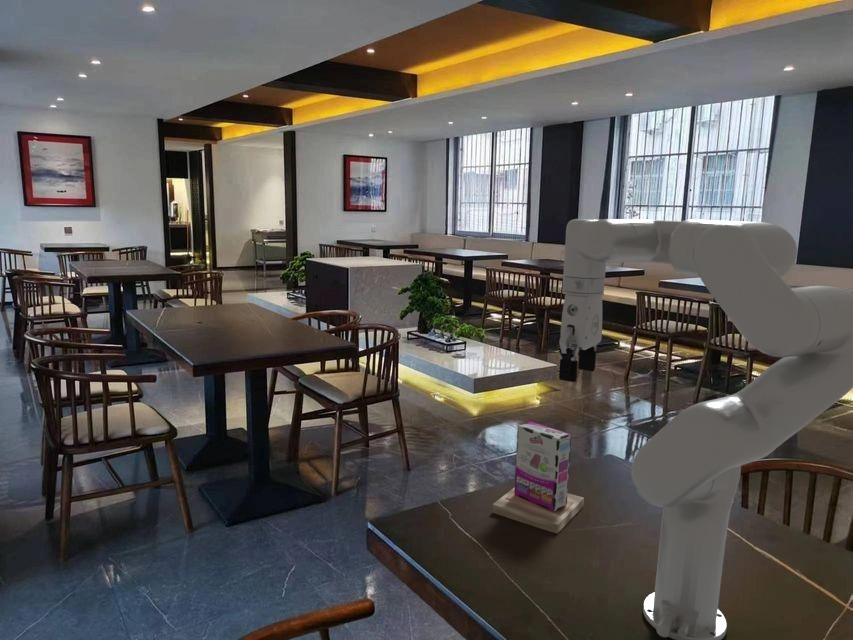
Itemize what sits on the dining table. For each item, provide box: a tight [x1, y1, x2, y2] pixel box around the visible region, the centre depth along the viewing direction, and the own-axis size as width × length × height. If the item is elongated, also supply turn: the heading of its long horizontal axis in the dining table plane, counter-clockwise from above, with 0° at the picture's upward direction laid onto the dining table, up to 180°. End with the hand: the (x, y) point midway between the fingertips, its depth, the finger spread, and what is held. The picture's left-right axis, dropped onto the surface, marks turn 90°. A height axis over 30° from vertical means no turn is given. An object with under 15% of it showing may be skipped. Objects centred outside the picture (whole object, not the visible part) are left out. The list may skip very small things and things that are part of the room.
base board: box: [492, 486, 585, 535], centre depth 139 cm, size 15×15×2 cm
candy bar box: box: [514, 421, 572, 512], centre depth 137 cm, size 11×5×16 cm, turn 43°
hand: (577, 375), depth 120 cm, fingers open, 9 cm apart
